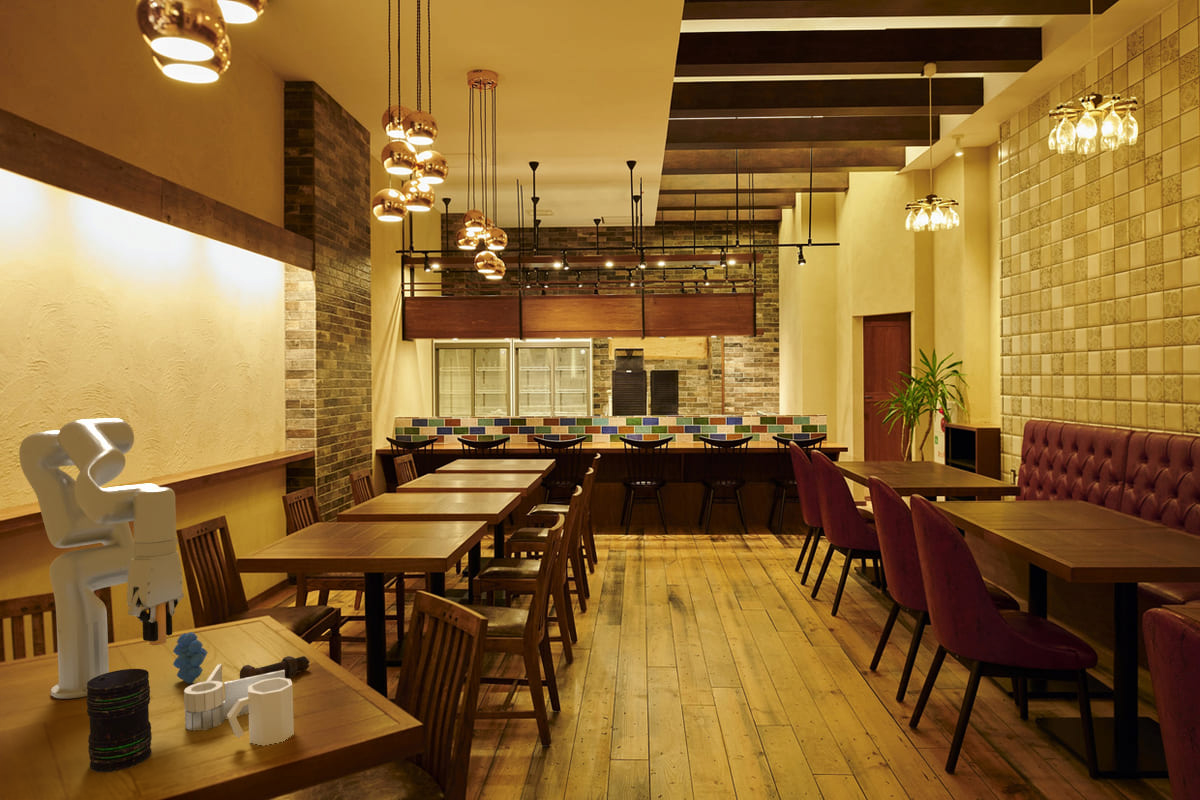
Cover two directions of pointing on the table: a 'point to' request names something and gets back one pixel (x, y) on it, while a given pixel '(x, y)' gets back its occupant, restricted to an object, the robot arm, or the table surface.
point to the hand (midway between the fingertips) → (157, 636)
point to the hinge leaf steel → (226, 702)
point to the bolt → (277, 667)
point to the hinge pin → (160, 624)
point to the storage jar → (119, 720)
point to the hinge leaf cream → (205, 693)
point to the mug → (266, 711)
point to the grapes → (189, 657)
